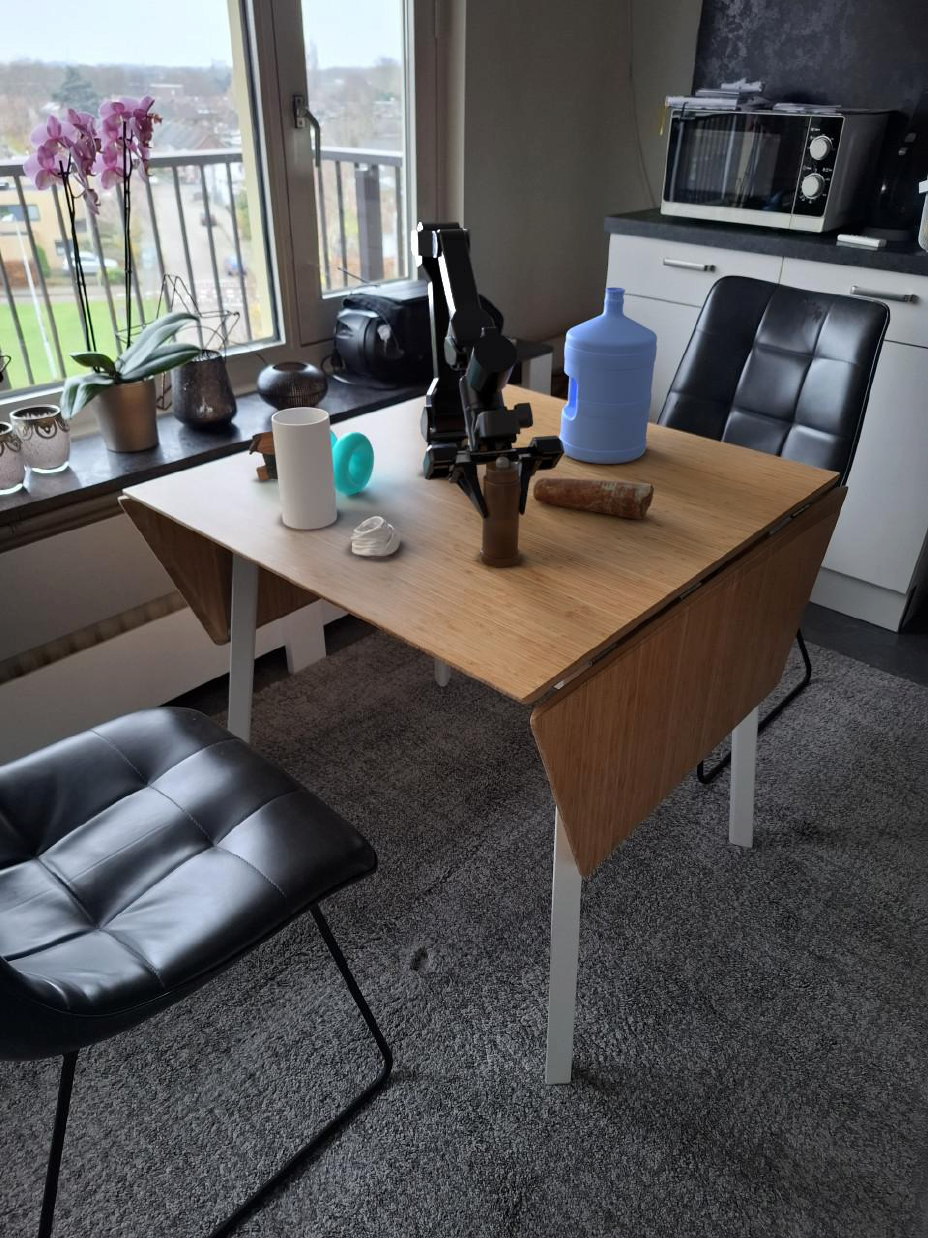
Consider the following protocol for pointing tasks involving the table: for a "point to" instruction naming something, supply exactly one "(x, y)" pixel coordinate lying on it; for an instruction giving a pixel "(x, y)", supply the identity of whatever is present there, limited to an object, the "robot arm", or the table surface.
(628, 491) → the brown cylinder
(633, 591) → the table surface
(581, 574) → the table surface
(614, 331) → the water jug
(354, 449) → the donuts
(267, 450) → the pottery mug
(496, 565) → the pepper mill
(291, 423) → the cup
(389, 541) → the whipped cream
